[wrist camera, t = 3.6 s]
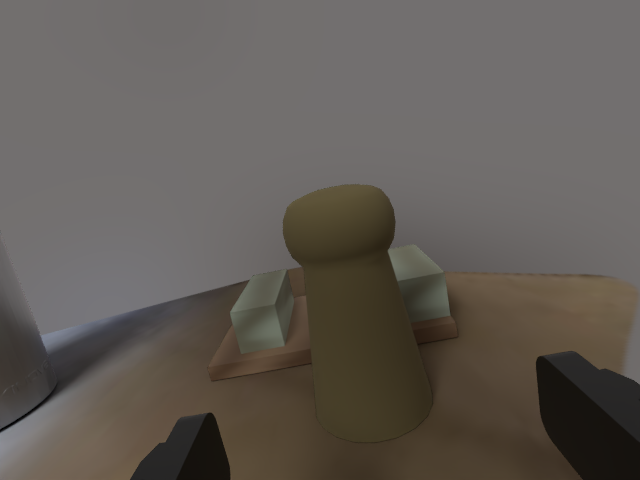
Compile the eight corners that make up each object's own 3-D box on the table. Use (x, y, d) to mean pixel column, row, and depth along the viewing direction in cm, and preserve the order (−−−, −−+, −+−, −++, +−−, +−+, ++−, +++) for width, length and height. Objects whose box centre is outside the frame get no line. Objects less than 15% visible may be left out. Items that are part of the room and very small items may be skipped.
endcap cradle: (211, 381, 24) (194, 324, 23) (244, 317, 34) (233, 276, 33) (457, 336, 23) (449, 276, 22) (418, 284, 33) (411, 241, 32)
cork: (305, 385, 22) (261, 199, 19) (401, 354, 23) (369, 175, 20) (331, 461, 16) (272, 208, 14) (458, 415, 17) (423, 174, 15)
